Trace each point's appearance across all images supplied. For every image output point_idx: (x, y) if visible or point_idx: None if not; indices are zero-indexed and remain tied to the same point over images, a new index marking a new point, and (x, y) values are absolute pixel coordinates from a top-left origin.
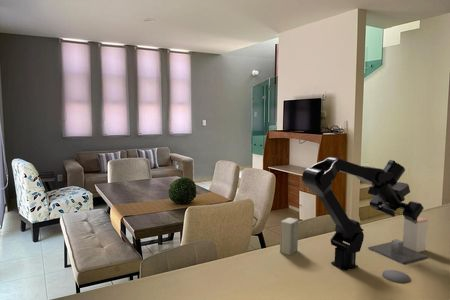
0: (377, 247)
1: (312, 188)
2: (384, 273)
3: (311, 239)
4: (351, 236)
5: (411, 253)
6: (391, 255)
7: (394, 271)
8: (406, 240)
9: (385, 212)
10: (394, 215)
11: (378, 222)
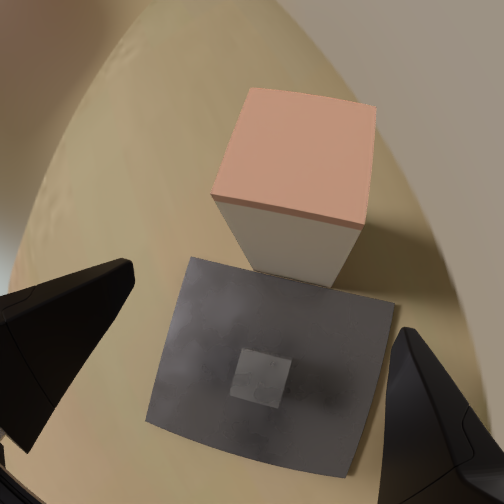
0: (174, 395)
1: None
2: None
3: None
4: None
5: (331, 340)
6: (271, 447)
7: None
8: (269, 263)
9: (59, 393)
10: (131, 273)
11: (91, 92)
